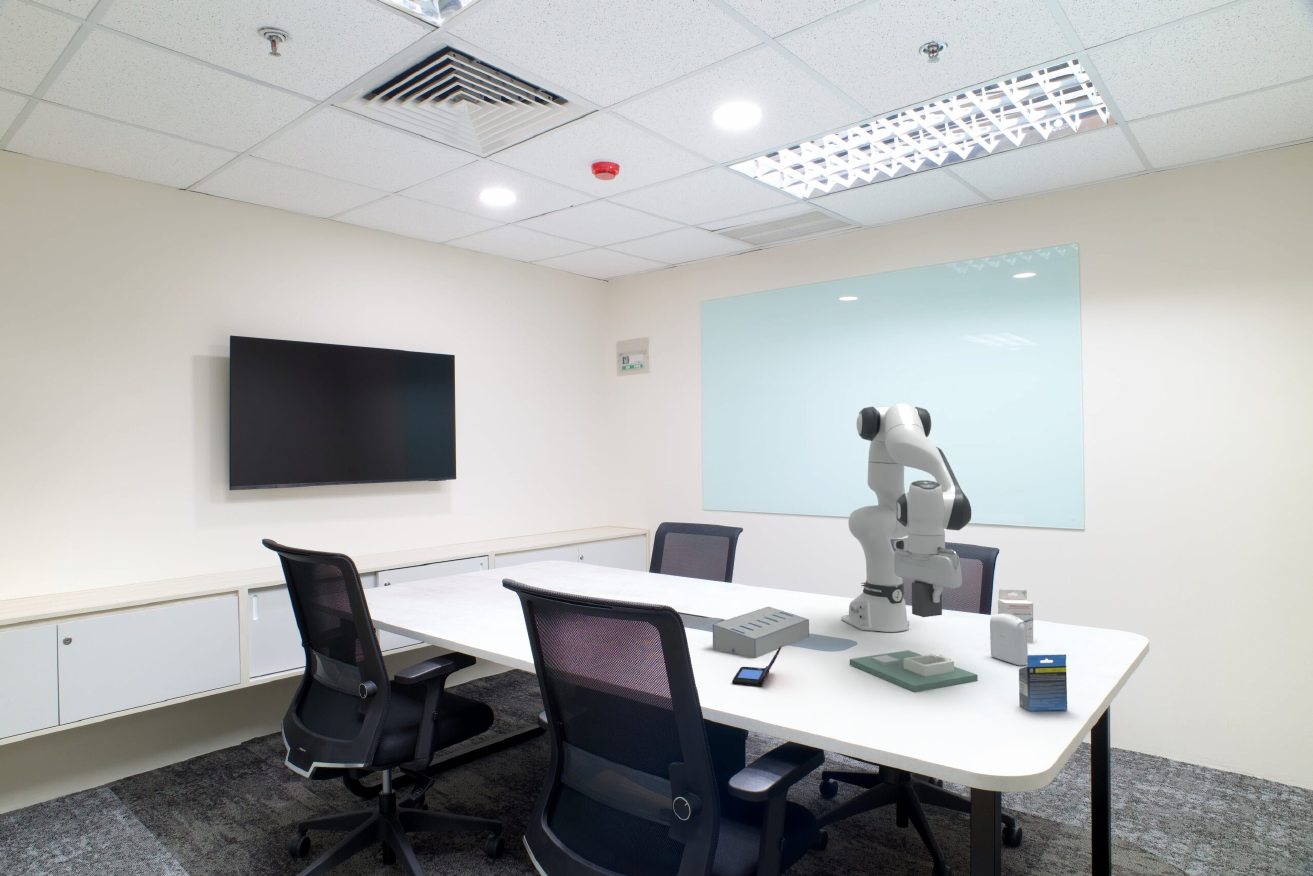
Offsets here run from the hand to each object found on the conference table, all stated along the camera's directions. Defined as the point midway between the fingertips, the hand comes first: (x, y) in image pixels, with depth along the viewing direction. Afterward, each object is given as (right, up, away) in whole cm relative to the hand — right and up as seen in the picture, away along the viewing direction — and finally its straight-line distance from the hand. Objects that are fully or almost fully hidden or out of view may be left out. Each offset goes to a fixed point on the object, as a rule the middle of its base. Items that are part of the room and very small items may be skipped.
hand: (927, 600), depth 187 cm
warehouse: (-37, -20, +32) cm, 53 cm away
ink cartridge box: (+38, -19, +33) cm, 54 cm away
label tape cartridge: (+17, -19, -23) cm, 35 cm away
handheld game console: (-43, -20, -1) cm, 47 cm away
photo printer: (+26, -19, +12) cm, 35 cm away
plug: (0, -4, 0) cm, 4 cm away
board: (-3, -19, +3) cm, 19 cm away
